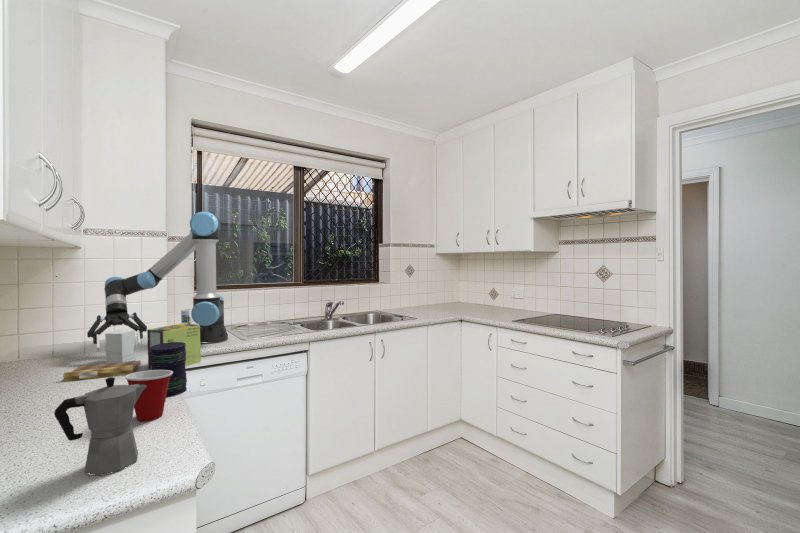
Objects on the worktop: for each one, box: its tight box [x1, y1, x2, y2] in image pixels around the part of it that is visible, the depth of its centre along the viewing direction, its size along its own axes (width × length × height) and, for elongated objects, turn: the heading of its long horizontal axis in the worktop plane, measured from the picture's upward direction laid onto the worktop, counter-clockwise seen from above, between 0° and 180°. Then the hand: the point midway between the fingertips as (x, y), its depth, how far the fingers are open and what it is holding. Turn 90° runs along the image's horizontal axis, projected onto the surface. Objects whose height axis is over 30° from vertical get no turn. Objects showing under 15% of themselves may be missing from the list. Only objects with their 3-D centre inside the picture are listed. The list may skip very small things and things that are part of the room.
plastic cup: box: [124, 369, 173, 422], centre depth 103 cm, size 11×11×12 cm
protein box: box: [146, 323, 202, 370], centre depth 153 cm, size 10×15×16 cm
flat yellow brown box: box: [63, 359, 142, 382], centre depth 144 cm, size 20×15×3 cm
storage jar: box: [150, 342, 188, 398], centre depth 122 cm, size 10×10×15 cm
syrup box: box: [180, 308, 198, 325], centre depth 214 cm, size 6×6×14 cm
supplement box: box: [104, 329, 137, 364], centre depth 159 cm, size 7×7×13 cm
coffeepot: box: [53, 376, 147, 476], centre depth 78 cm, size 15×9×18 cm, turn 144°
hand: (119, 347), depth 158 cm, fingers open, 13 cm apart
